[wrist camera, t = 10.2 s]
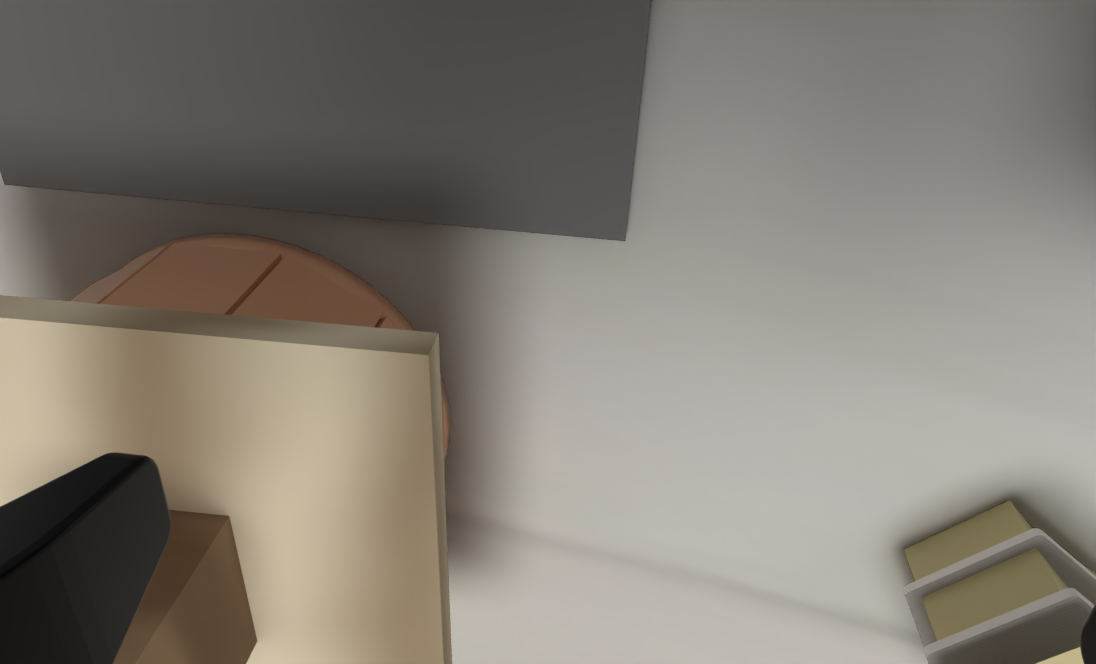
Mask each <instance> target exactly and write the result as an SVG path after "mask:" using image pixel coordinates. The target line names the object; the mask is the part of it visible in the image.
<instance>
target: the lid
mask: <svg viewBox="0 0 1096 664" xmlns="http://www.w3.org/2000/svg"><path fill="white" fill-rule="evenodd" d="M114 452H118V453H127V454H136V455H145V456H148V457H150V458H152V459H153V460H154V461H155V462H156V464H157V466H158V468H159V472H160V476H161V480H162V484H163V488H164V492H165V496H166V500H167V504H168V508H169V512H170V516H171V532H170V536H169V540H168V543H167V545H166V548H165V550H164V552H163V554H162V557H161V559H160V561H159V563H158V566H157V568H156V570H155V572H154V575H153V577H152V579H151V581H150V584H149V586H148V588H147V590H146V592H145V595H144V597H143V599H142V601H141V604H140V606H139V608H138V610H137V613H136V615H135V617H134V619H133V622H132V624H131V626H130V628H129V630H128V633H127V635H126V637H125V639H124V642H123V644H122V646H121V648H120V651H119V653H118V655H117V657H116V660H115V662H114V664H452V650H451V626H450V601H449V576H448V552H447V527H446V503H445V478H444V454H443V429H442V404H441V380H440V355H439V333H434V332H423V331H411V330H399V329H388V328H376V327H364V326H353V325H341V324H329V323H318V322H306V321H294V320H283V319H271V318H259V317H248V316H236V315H224V314H213V313H201V312H189V311H178V310H166V309H154V308H143V307H131V306H119V305H108V304H96V303H84V302H73V301H61V300H49V299H38V298H26V297H14V296H3V295H0V506H2V505H4V504H6V503H8V502H10V501H12V500H14V499H16V498H18V497H20V496H22V495H24V494H26V493H28V492H30V491H32V490H34V489H36V488H38V487H40V486H42V485H44V484H46V483H48V482H50V481H52V480H54V479H56V478H58V477H60V476H62V475H64V474H66V473H68V472H70V471H72V470H74V469H76V468H78V467H80V466H82V465H84V464H86V463H88V462H90V461H92V460H94V459H96V458H98V457H100V456H102V455H104V454H107V453H114Z"/></svg>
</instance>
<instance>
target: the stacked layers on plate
mask: <svg viewBox="0 0 1096 664" xmlns="http://www.w3.org/2000/svg"><path fill="white" fill-rule="evenodd" d="M904 552H905V554H906V557H907V560H908V563H909V565H910V568H911V571H912V574H913V576H914V579H915V581H914V582H912V583H910V584H907V585H906V586H904V588H903V590H904V593H905V596H906V599H907V602H908V604H909V607H910V610H911V613H912V615H913V618H914V621H915V623H916V626H917V629H918V632H919V634H920V637H921V640H922V643H923V645H924V651H925V654H926V657H927V660H928V663H929V664H1084V662H1083V659H1082V655H1081V649H1080V635H1081V630H1082V627H1083V625H1084V622H1085V621H1086V619H1087V617H1088V616H1089V614H1090V612H1091V610H1092V609H1093V607H1094V605H1095V603H1096V574H1095V573H1094V572H1093V571H1092V570H1090V569H1088V568H1086V567H1084V566H1083V565H1082V564H1081V563H1080V562H1078V561H1077V560H1076V559H1075V558H1074V557H1072V556H1071V555H1070V554H1069V553H1068V552H1067V551H1065V550H1064V549H1063V548H1062V547H1061V546H1060V545H1058V544H1057V543H1056V542H1055V541H1054V540H1053V539H1051V538H1050V537H1049V536H1048V535H1047V534H1046V533H1044V532H1043V531H1042V530H1041V529H1039V528H1033V529H1032V528H1031V526H1030V525H1029V524H1028V523H1027V521H1026V520H1025V519H1024V518H1023V516H1022V515H1021V514H1020V513H1019V511H1018V510H1017V509H1016V508H1015V506H1014V505H1013V504H1012V503H1011V501H1010V500H1009V501H1007V502H1004V503H1002V504H1000V505H998V506H996V507H994V508H992V509H989V510H987V511H985V512H983V513H981V514H979V515H977V516H974V517H972V518H970V519H968V520H966V521H964V522H962V523H959V524H957V525H955V526H953V527H951V528H949V529H947V530H944V531H942V532H940V533H938V534H936V535H934V536H932V537H930V538H927V539H925V540H923V541H921V542H919V543H917V544H915V545H912V546H910V547H908V548H906V549H904Z"/></svg>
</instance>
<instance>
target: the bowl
mask: <svg viewBox="0 0 1096 664" xmlns="http://www.w3.org/2000/svg"><path fill="white" fill-rule="evenodd" d="M71 301H73V302H84V303H96V304H108V305H119V306H131V307H143V308H154V309H166V310H178V311H189V312H201V313H213V314H224V315H236V316H248V317H259V318H271V319H283V320H294V321H306V322H318V323H329V324H341V325H353V326H364V327H376V328H388V329H399V330H411V331H415V330H414V328H413V327H412V326H411V324H410V323H409V322H408V320H407V319H406V318H405V317H404V316H403V315H402V314H401V313H400V312H399V311H398V310H397V309H396V308H395V307H394V306H393V305H392V303H391V302H390V301H388V300H387V299H386V298H385V297H384V296H382V295H381V294H380V293H379V292H378V291H376V290H375V289H374V288H373V287H372V286H371V285H369V284H368V283H366V282H365V281H363V280H362V279H360V278H359V277H357V276H356V275H354V274H353V273H352V272H350V271H349V270H347V269H345V268H343V267H342V266H340V265H338V264H336V263H334V262H332V261H330V260H328V259H326V258H324V257H323V256H320V255H318V254H315V253H313V252H310V251H308V250H305V249H303V248H300V247H298V246H295V245H291V244H288V243H284V242H280V241H277V240H273V239H269V238H263V237H256V236H250V235H243V234H208V235H198V236H190V237H186V238H182V239H178V240H174V241H170V242H167V243H165V244H162V245H160V246H158V247H155V248H153V249H150V250H148V251H146V252H145V253H143V254H142V255H140V256H138V257H137V258H135V259H134V260H132V261H131V262H129V263H128V264H127V265H125V266H124V267H123V268H121V269H120V270H118V271H116V272H114V273H113V274H111V275H109V276H107V277H105V278H103V279H101V280H99V281H97V282H95V283H93V284H92V285H90V286H89V287H88V288H86V289H85V290H84V291H82V292H81V293H80V294H79V295H77V296H76V297H75V298H73V299H72V300H71ZM440 380H441V404H442V429H443V454H444V478H445V459H446V454H447V450H448V446H449V440H450V424H451V423H450V412H449V403H448V399H447V395H446V391H445V387H444V383H443V380H442V378H441V375H440Z"/></svg>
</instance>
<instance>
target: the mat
mask: <svg viewBox="0 0 1096 664" xmlns="http://www.w3.org/2000/svg"><path fill="white" fill-rule="evenodd" d="M650 8H651V0H0V171H1V174H2V178H3V181H4V184H5V185H13V186H24V187H35V188H46V189H57V190H68V191H79V192H90V193H101V194H112V195H123V196H134V197H145V198H156V199H167V200H178V201H189V202H200V203H211V204H222V205H233V206H244V207H255V208H266V209H277V210H288V211H299V212H310V213H321V214H332V215H343V216H354V217H365V218H376V219H387V220H398V221H409V222H420V223H431V224H442V225H453V226H464V227H475V228H486V229H497V230H508V231H519V232H530V233H541V234H552V235H563V236H574V237H585V238H596V239H607V240H618V241H625V239H626V230H627V221H628V211H629V202H630V193H631V184H632V174H633V165H634V156H635V147H636V137H637V128H638V119H639V110H640V100H641V91H642V82H643V72H644V63H645V54H646V45H647V35H648V26H649V17H650Z"/></svg>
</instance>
